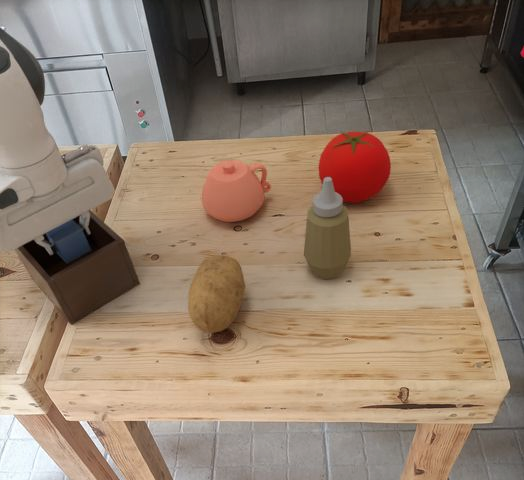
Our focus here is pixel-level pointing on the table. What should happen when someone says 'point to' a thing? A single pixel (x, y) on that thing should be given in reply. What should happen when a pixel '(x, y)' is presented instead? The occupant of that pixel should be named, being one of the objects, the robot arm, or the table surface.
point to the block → (69, 241)
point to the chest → (82, 272)
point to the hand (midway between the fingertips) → (69, 243)
